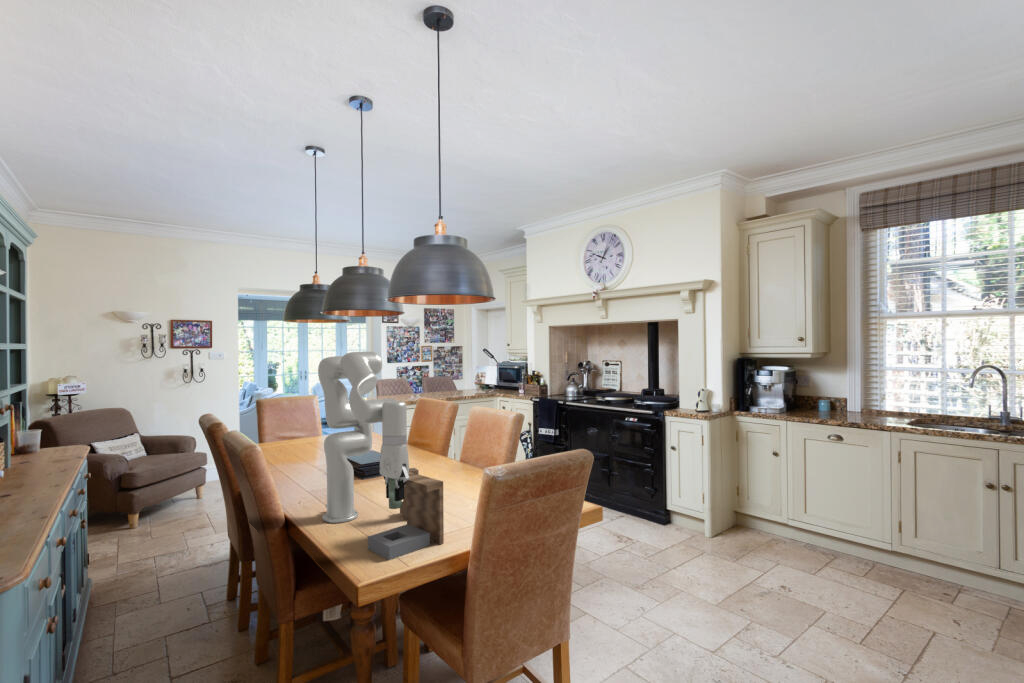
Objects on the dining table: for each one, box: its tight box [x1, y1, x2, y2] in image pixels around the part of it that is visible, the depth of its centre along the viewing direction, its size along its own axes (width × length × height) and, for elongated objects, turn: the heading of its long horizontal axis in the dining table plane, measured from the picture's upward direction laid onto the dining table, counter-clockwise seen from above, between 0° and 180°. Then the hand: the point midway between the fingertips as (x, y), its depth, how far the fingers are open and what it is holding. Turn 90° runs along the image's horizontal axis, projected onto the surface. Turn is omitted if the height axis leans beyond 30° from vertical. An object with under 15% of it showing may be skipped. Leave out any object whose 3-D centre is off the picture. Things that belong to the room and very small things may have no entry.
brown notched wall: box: [405, 472, 445, 545], centre depth 168 cm, size 18×6×20 cm, turn 47°
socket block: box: [367, 523, 431, 561], centre depth 161 cm, size 12×15×4 cm
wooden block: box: [399, 467, 420, 520], centre depth 190 cm, size 9×4×18 cm, turn 31°
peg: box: [388, 476, 403, 510], centre depth 160 cm, size 4×4×10 cm
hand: (395, 498), depth 160 cm, fingers closed on peg, 4 cm apart
